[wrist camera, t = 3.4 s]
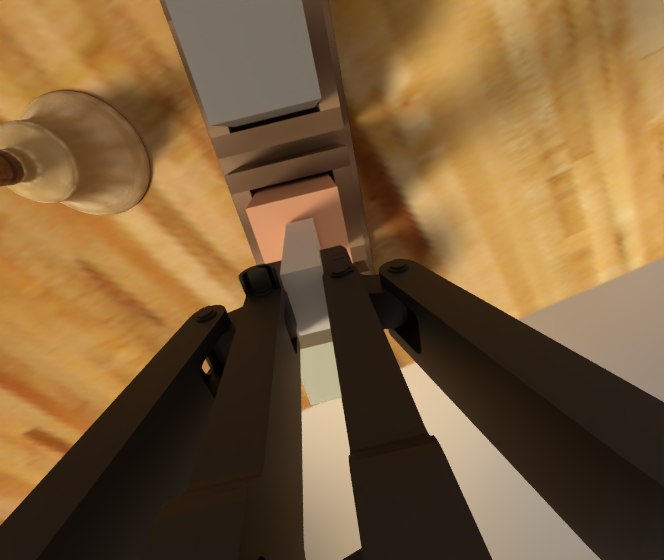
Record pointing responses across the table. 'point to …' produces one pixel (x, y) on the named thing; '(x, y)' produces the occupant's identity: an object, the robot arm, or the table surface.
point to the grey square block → (247, 57)
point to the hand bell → (74, 155)
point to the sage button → (319, 366)
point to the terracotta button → (297, 213)
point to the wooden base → (295, 142)
